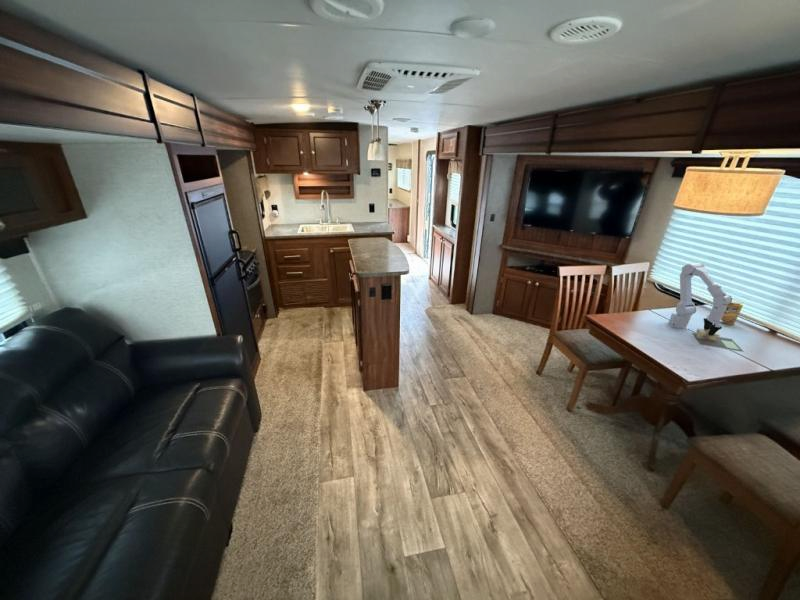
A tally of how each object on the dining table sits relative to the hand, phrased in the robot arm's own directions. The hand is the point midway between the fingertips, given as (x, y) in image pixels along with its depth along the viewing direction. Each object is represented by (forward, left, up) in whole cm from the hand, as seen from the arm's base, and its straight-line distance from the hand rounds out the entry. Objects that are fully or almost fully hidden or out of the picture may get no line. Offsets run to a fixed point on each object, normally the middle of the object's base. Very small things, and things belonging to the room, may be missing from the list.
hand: (708, 332), depth 194 cm
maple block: (0, 0, -4) cm, 4 cm away
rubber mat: (+4, -3, -4) cm, 7 cm away
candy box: (+20, +33, -5) cm, 39 cm away
